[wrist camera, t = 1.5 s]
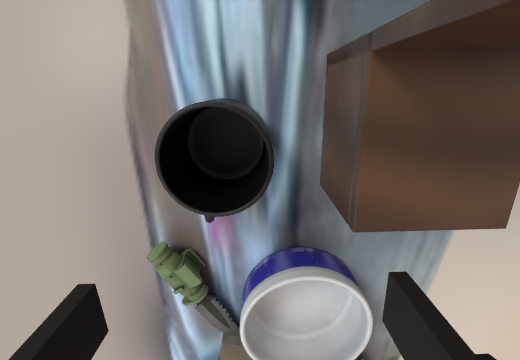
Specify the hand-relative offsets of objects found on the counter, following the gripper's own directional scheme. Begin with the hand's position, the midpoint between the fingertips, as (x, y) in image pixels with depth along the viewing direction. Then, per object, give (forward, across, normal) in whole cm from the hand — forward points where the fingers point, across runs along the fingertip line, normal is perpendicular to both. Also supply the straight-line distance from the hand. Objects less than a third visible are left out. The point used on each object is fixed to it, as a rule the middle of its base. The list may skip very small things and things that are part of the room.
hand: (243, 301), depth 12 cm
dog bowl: (+20, +6, -17) cm, 27 cm away
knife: (+18, -9, -17) cm, 27 cm away
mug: (+20, -3, +2) cm, 20 cm away
